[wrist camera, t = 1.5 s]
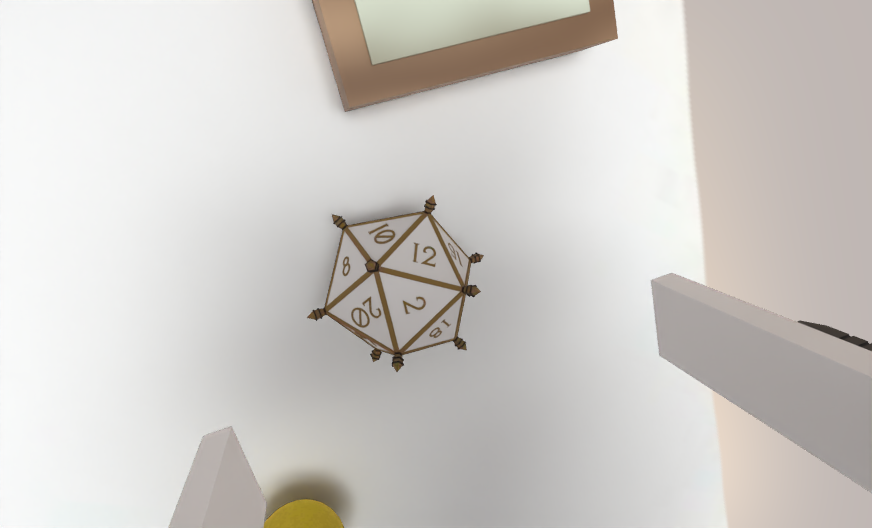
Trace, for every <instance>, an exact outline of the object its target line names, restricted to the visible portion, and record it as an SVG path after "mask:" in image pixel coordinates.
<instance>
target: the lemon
mask: <svg viewBox="0 0 872 528" xmlns="http://www.w3.org/2000/svg"><path fill="white" fill-rule="evenodd" d="M264 528H344V526H343V524H342V522H341V520H340V518H339V516H338V515H337V514H336V513H335V512H334V511H333V510H332V509H331V508H330V507H329V506H327V505H325V504H324V503H322V502H319V501H315V500H309V499H302V500H296V501H293V502H290V503H287V504H285V505H284V506H282V507H280V508H279V509H277V510H276V511H275V512H274V513H273V514H272V515H271V516H270V517H269V518H268V519H267V520H266V521H265V523H264Z"/></svg>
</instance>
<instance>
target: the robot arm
mask: <svg viewBox="0 0 872 528" xmlns="http://www.w3.org/2000/svg"><path fill="white" fill-rule="evenodd" d="M651 286H652V295H653V303H654V312H655V321H656V330H657V339H658V347H659V355H660V356H661V357H663V358H664V359H666V360H667V361H669V362H670V363H672V364H673V365H675V366H676V367H678V368H680V369H681V370H683V371H684V372H686V373H687V374H689V375H690V376H692V377H693V378H695V379H697V380H698V381H700V382H701V383H703V384H704V385H706V386H707V387H709V388H710V389H712V390H713V391H715V392H717V393H718V394H720V395H721V396H723V397H724V398H726V399H727V400H729V401H730V402H732V403H733V404H735V405H737V406H738V407H740V408H741V409H743V410H744V411H746V412H748V413H749V414H750V415H752V416H754V417H755V418H757V419H758V420H760V421H761V422H763V423H764V424H766V425H768V426H769V427H770V428H772V429H774V430H775V431H777V432H778V433H780V434H781V435H783V436H784V437H786V438H787V439H789V440H790V441H792V442H794V443H795V444H797V445H798V446H800V447H801V448H803V449H804V450H806V451H807V452H809V453H811V454H812V455H814V456H815V457H817V458H819V459H820V460H821V461H823V462H825V463H826V464H827V465H829V466H831V467H832V468H834V469H835V470H837V471H838V472H840V473H841V474H843V475H845V476H846V477H848V478H849V479H851V480H852V481H854V482H855V483H857V484H858V485H860V486H861V487H863V488H864V489H866V490H867V491H869V492H871V493H872V344H869V343H868V341H865V340H863V339H860V338H858V337H855V336H852V337H850V336H849V334H847V333H844V332H842V331H839V330H836V329H834V328H831V327H829V326H825V325H820V324H815V323H809V322H804V321H798V322H796V321H793V320H791V319H788V318H785V317H783V316H781V315H778V314H775V313H773V312H770V311H768V310H765V309H763V308H760V307H757V306H755V305H752V304H750V303H747V302H745V301H742V300H740V299H737V298H735V297H732V296H730V295H727V294H725V293H722V292H720V291H717V290H714V289H712V288H709V287H707V286H704V285H702V284H699V283H697V282H694V281H692V280H689V279H686V278H684V277H681V276H679V275H676V274H674V273H670V274H667V275H664V276H661V277H658V278H656V279H653V280H651ZM266 505H267V502H266V500H265V498H264V496H263V494H262V492H261V489H260V487H259V485H258V483H257V481H256V479H255V476H254V474H253V472H252V470H251V468H250V465H249V463H248V461H247V459H246V457H245V455H244V452H243V450H242V448H241V446H240V444H239V441H238V439H237V437H236V435H235V433H234V431H233V428H232V426H230V427H227V428H224V429H222V430H219V431H216V432H213V433H210V434H207V435H204V436H203V437H202V440H201V443H200V445H199V448H198V451H197V453H196V456H195V458H194V461H193V464H192V466H191V469H190V472H189V474H188V477H187V480H186V482H185V485H184V488H183V490H182V493H181V496H180V498H179V501H178V504H177V506H176V509H175V512H174V514H173V517H172V520H171V522H170V525H169V528H264V520H265V513H266Z"/></svg>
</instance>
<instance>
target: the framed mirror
mask: <svg viewBox="0 0 872 528" xmlns="http://www.w3.org/2000/svg"><path fill="white" fill-rule="evenodd" d="M312 2H313V6H314V9H315V12H316V16H317V19H318V22H319V26H320V29H321V33H322V36H323V39H324V43H325V46H326V49H327V53H328V56H329V60H330V63H331V66H332V70H333V73H334V76H335V80H336V83H337V87H338V90H339V93H340V97H341V100H342V104H343V107H344V110H345V112H346V111H350V110H354V109H358V108H362V107H365V106H369V105H373V104H377V103H381V102H385V101H389V100H393V99H396V98H400V97H404V96H408V95H412V94H416V93H420V92H423V91H427V90H431V89H435V88H439V87H443V86H447V85H451V84H454V83H458V82H462V81H466V80H470V79H474V78H478V77H482V76H485V75H489V74H493V73H497V72H501V71H505V70H509V69H512V68H516V67H520V66H524V65H528V64H532V63H536V62H540V61H543V60H547V59H551V58H555V57H559V56H563V55H567V54H571V53H574V52H578V51H581V50H584V49H587V48H590V47H593V46H596V45H599V44H602V43H605V42H609V41H612V40H615V39H618V35H617V27H616V19H615V11H614V2H613V0H312Z"/></svg>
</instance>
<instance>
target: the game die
mask: <svg viewBox="0 0 872 528" xmlns="http://www.w3.org/2000/svg"><path fill="white" fill-rule="evenodd" d="M435 205H437V204H436V203H435V199H434V195H433V196H432V197H431V198H429V199H428V200H426V204H425V206H424V207H425V211H422V212H417V213H411V214H406V215H401V216H395V217H390V218H385V219H379V220H374V221H368V222H363V223H358V224H352V225H347V224H346V223H345V219H344V220H343V218H342V216H341V217H340V216H336V215H332V217H333V221H334V224H336V225H337V227H339V228H341V229H342V230H343V231H342V235H341V239H340V244H339V248H338V252H337V256H336V261H335V265H334V269H333V273H332V277H331V282H330V286H329V290H328V294H327V299H326V303H325V307H324V308H323V309H319V308H318V309H317V310H315V311H314V310H313V311H312V312H311V314H310V315H309V316H308V317H307V318H311V319H315V320H316V321H317V319H319V318H321V319H322V317H323V316H324V315H328V316H329V317H331V318H332V319H334V320H335V321H336V322H338V323H339V324H341V325H342V326H344V327H345V328H346V329H348V330H349V331H351V332H352V333H353V334H355V335H356V336H358V337H359V338H361V339H362V340H363V341H365V342H366V343H368V344H369V345H371V346H372V347H373V348H375V349H374V350H373V351H372V354H370V355H371V357H372V359H373V362H375V361H376V360H379V358H380V355H381V353H382V352H381V351H383V352H386V353H389V354H392V355H394V357H393V362H392V367H394V369H395V370H396V372H398V370H399V369H400V368H401V367H402V366H403V365H404V364H403V361H404V359H403V358H402V355H405V354H408V353H412V352H415V351H419V350H422V349H426V348H429V347H433V346H436V345H440V344H443V343H447V342H450V341H453V342H454V343H455V346H457V347H458V349H463V350H467V349H466V344H465V343H466V342H465V341H463V339H461V338H458V331H459V326H460V321H461V316H462V311H463V306H464V301H465V296H466V294H467V295H468V296H469V297H470V296H472V297H475V295H476V294H478V293H479V292H481V291H480V290H479V289H478V288H477V286H476V285H473V286H472V285H468V279H469V273H470V266H471V263H477V262H481V259H482V258H483V256H484V255H480V254H477V253H475V254H474V255H473V254H472V256H470V257H468V256H467V255H466V254H465V253H464V252H463V250H462V249H461V248H460V247H459V246H458V245H457V244H456V242H455V241H454V240H453V239H452V238H451V237H450V236H449V234H448V233H447V232H446V231H445V230H444V229H443V228H442V226H441V225H440V224H439V223H438V222H437V221H436V219H435V218H434V217H433V216H432V215H431V212H432V211H433V210H434V207H435ZM467 285H468V286H467Z"/></svg>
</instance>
